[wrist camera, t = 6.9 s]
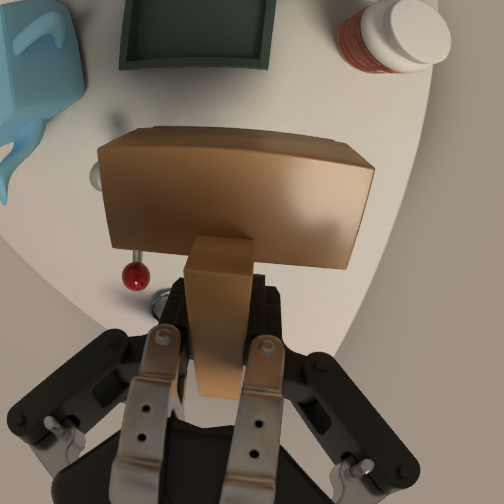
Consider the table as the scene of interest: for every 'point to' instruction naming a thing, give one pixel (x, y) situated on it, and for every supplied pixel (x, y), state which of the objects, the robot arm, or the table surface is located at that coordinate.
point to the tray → (196, 33)
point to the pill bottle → (394, 37)
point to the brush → (231, 219)
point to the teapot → (34, 75)
